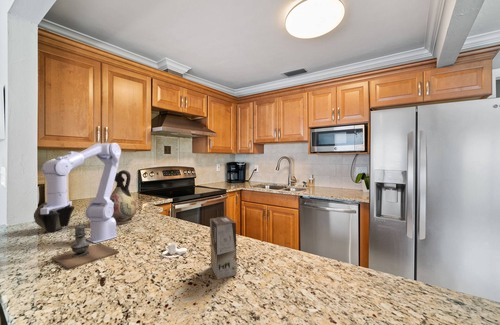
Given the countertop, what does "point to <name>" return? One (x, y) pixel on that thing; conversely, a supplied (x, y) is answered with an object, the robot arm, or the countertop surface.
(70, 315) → the countertop surface
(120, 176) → the ceramic jug
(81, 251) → the dark grey turned piece
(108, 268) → the countertop surface
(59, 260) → the walnut board
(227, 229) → the coffee box
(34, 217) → the grey rounded lump
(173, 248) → the teacup and saucer
